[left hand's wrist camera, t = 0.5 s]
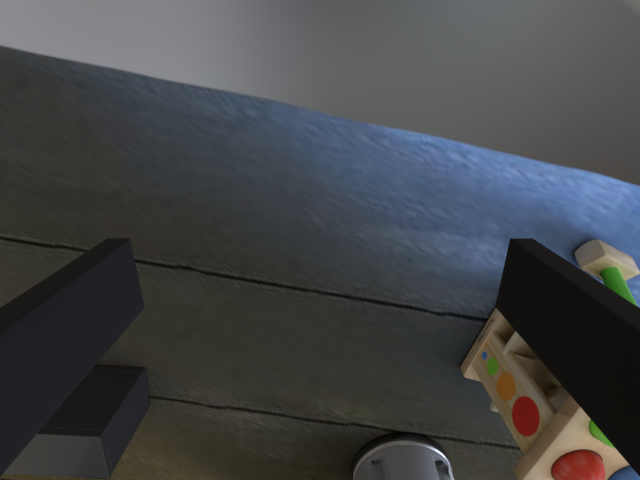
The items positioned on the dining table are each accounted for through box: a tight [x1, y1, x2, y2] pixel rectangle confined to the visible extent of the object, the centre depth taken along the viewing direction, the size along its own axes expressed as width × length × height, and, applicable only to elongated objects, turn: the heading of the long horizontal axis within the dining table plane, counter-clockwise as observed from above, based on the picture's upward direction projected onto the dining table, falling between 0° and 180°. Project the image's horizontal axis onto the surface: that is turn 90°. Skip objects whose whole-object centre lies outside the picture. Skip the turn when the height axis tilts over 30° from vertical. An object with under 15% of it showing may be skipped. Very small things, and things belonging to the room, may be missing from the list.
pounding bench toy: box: [460, 239, 640, 480], centre depth 37 cm, size 23×14×18 cm, turn 162°
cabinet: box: [3, 365, 150, 479], centre depth 45 cm, size 18×7×11 cm, turn 86°
